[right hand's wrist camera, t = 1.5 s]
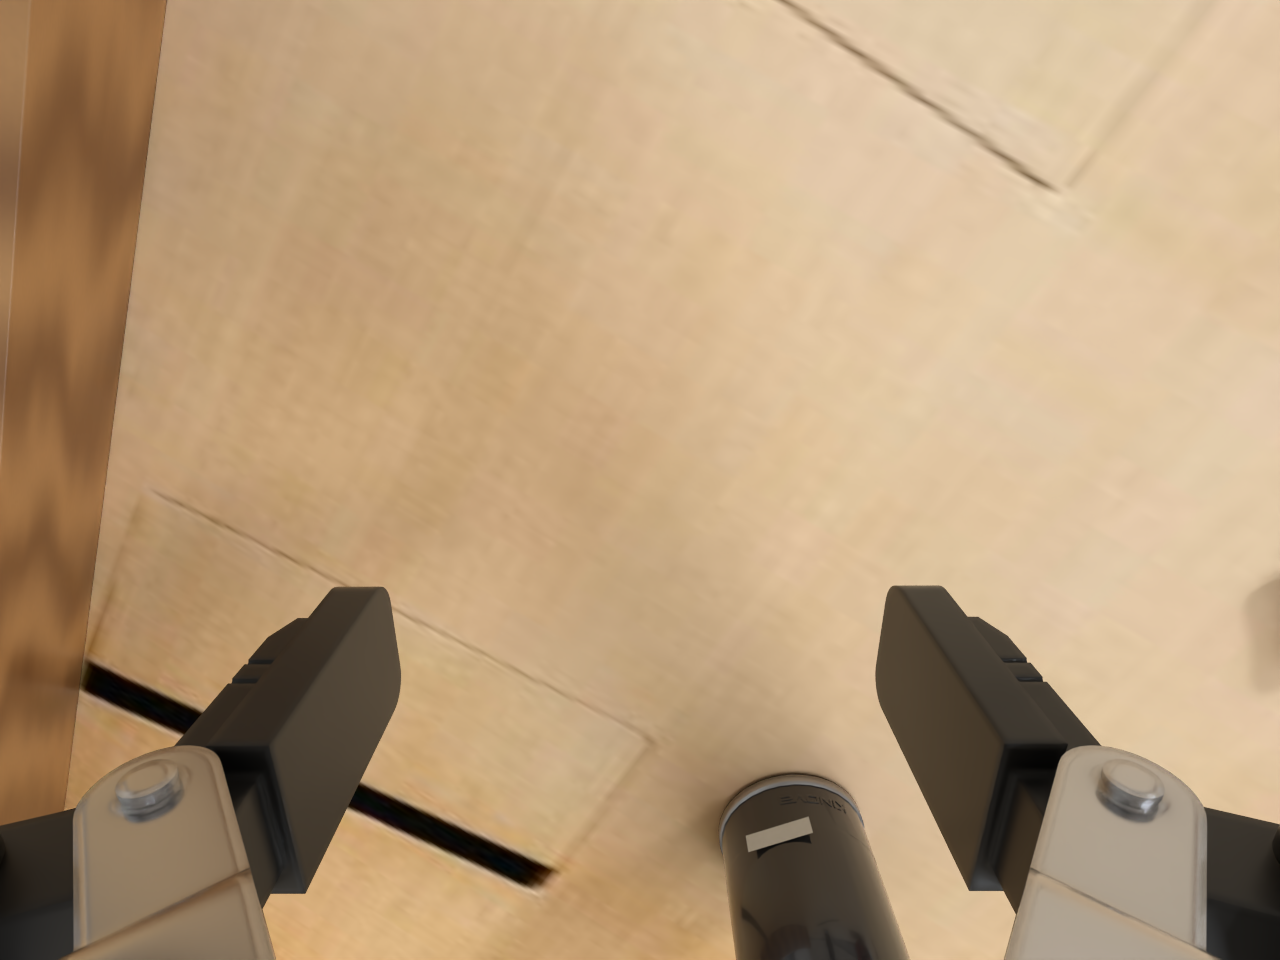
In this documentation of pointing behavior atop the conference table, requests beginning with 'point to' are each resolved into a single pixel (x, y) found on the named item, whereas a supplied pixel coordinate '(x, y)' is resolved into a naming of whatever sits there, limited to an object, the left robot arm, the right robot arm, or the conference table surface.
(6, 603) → the bar
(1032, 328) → the conference table surface
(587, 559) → the conference table surface
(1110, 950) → the right robot arm
